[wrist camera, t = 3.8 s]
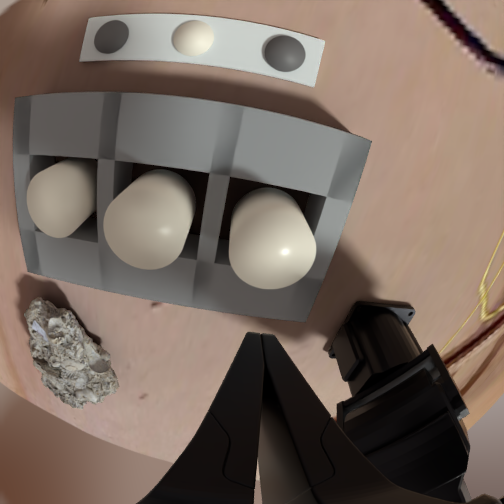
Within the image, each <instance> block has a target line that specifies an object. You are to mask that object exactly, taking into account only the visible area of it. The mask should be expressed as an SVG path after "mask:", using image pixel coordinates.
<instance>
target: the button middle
mask: <svg viewBox="0 0 504 504" xmlns="http://www.w3.org/2000/svg"><path fill="white" fill-rule="evenodd" d="M195 212H196V198H195V194H194V191H193V189H192V187H191V186H190V184H189V183H188V182H187V181H186V180H185V179H184V178H183V177H182V176H180V175H179V174H177V173H175V172H172V171H170V170H164V169H156V170H151V171H148V172H146V173H144V174H142V175H141V176H140V177H138V178H137V179H136V180H135V181H134V182H133V183H132V184H130V185H129V186H128V187H127V188H126V189H125V190H124V191H123V192H122V193H120V194H119V195H118V196H117V197H116V198H115V199H114V200H113V201H112V202H111V203H110V205H109V206H108V208H107V210H106V213H105V216H104V222H103V228H104V234H105V238H106V241H107V243H108V245H109V246H110V248H111V250H112V251H113V252H114V253H115V254H116V255H117V256H118V257H119V258H120V259H121V260H122V261H124V262H125V263H127V264H129V265H131V266H133V267H136V268H140V269H146V270H153V269H159V268H163V267H165V266H167V265H169V264H171V263H172V262H173V261H174V260H175V259H176V258H177V257H178V256H179V255H180V253H181V251H182V249H183V246H184V244H185V241H186V238H187V235H188V232H189V229H190V226H191V224H192V221H193V218H194V215H195Z"/></svg>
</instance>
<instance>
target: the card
mask: <svg viewBox="0 0 504 504" xmlns="http://www.w3.org/2000/svg"><path fill="white" fill-rule="evenodd" d="M324 44H325V41H324V40H321V39H317V38H314V37H311V36H307V35H304V34H300V33H296V32H293V31H289V30H285V29H280V28H276V27H272V26H267V25H262V24H257V23H251V22H246V21H240V20H233V19H226V18H218V17H209V16H198V15H183V14H126V15H112V16H101V17H92V18H89V20H88V24H87V28H86V32H85V36H84V41H83V45H82V50H81V55H80V60H79V62H89V61H112V60H139V61H164V62H178V63H189V64H198V65H207V66H214V67H221V68H228V69H234V70H240V71H245V72H251V73H256V74H261V75H265V76H270V77H274V78H279V79H283V80H287V81H291V82H295V83H298V84H302V85H306V86H309V87H314V86H315V82H316V77H317V73H318V69H319V65H320V61H321V57H322V53H323V49H324Z"/></svg>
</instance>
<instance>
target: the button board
mask: <svg viewBox="0 0 504 504" xmlns="http://www.w3.org/2000/svg"><path fill="white" fill-rule="evenodd" d="M371 143H372V141H370V140H368V139H365V138H363V137H360V136H358V135H355V134H352V133H349V132H346V131H343V130H340V129H337V128H334V127H330V126H327V125H324V124H320V123H317V122H313V121H309V120H306V119H302V118H298V117H294V116H290V115H286V114H282V113H277V112H273V111H269V110H264V109H259V108H254V107H249V106H244V105H239V104H233V103H227V102H221V101H215V100H208V99H201V98H193V97H184V96H175V95H165V94H152V93H136V92H64V93H49V94H38V95H31V96H24V97H17V98H15V106H14V122H13V170H14V186H15V198H16V207H17V215H18V222H19V229H20V235H21V241H22V247H23V252H24V257H25V261H26V266H27V270H28V272H31V273H34V274H38V275H42V276H45V277H49V278H53V279H57V280H61V281H65V282H69V283H73V284H77V285H82V286H86V287H90V288H95V289H99V290H104V291H108V292H113V293H118V294H122V295H127V296H132V297H137V298H142V299H148V300H153V301H158V302H164V303H169V304H175V305H181V306H187V307H193V308H199V309H205V310H211V311H218V312H225V313H232V314H239V315H246V316H254V317H262V318H270V319H278V320H287V321H296V322H306V320H307V318H308V316H309V313H310V311H311V309H312V306H313V304H314V302H315V299H316V297H317V295H318V292H319V290H320V287H321V285H322V282H323V280H324V277H325V275H326V272H327V270H328V267H329V265H330V262H331V260H332V257H333V255H334V252H335V249H336V247H337V244H338V241H339V239H340V236H341V233H342V231H343V228H344V225H345V222H346V220H347V217H348V214H349V211H350V208H351V205H352V202H353V199H354V197H355V194H356V191H357V188H358V185H359V181H360V178H361V175H362V172H363V169H364V166H365V163H366V159H367V156H368V153H369V149H370V146H371ZM55 156H67V157H81V158H93V159H98V169H97V219H95V218H89V217H88V218H87V219H86V220H85V221H84V222H83V223H82V224H81V225H80V226H79V227H78V228H77V229H76V230H75V231H74V232H73V233H72V234H70V235H69V236H67V237H64V238H54V237H51V236H49V235H47V234H45V233H44V232H42V231H41V230H40V229H39V228H38V227H37V226H36V224H35V223H34V222H33V220H32V218H31V216H30V214H29V211H28V207H27V189H28V186H29V184H30V182H31V180H32V178H33V177H34V176H35V175H36V174H38V173H39V172H41V171H43V170H45V169H47V168H49V167H51V166H53V165H55ZM133 162H134V163H142V164H150V165H158V166H166V167H173V168H180V169H187V170H193V171H200V172H206V173H210V175H209V181H208V187H207V193H206V199H205V205H204V212H203V218H202V225H201V232H200V235H194V234H188V235H187V238H186V241H185V244H184V246H183V249H182V251H181V253H180V255H179V256H178V257H177V258H176V259H175V260H174V261H173V262H172V263H171V264H169V265H167V266H165V267H163V268H159V269H153V270H146V269H140V268H136V267H133V266H131V265H129V264H127V263H125V262H124V261H122V260H121V259H120V258H119V257H118V256H117V255H116V254H115V253H114V252H113V251H112V250H111V248H110V246H109V245H108V243H107V241H106V238H105V234H104V228H103V222H104V216H105V213H106V210H107V208H108V206H109V205H110V203H111V202H112V201H113V200H114V199H115V198H116V197H117V196H118V195H119V194H120V193H122V192H123V191H124V190H125V189H126V188H127V187H128V186H129V185H130V184H131V179H132V166H133ZM230 177H235V178H241V179H246V180H251V181H256V182H262V183H267V184H272V185H276V186H281V187H286V188H291V189H295V190H300V191H304V192H309V193H310V195H309V198H308V201H307V205H306V208H305V211H304V215H303V216H304V218H305V220H306V222H307V224H308V226H309V228H310V230H311V232H312V234H313V236H314V239H315V242H316V256H315V260H314V262H313V265H312V266H311V268H310V270H309V271H308V272H307V273H306V275H305V276H303V277H302V278H301V279H300V280H299V281H297V282H295V283H294V284H292V285H289V286H287V287H283V288H279V289H261V288H257V287H254V286H251V285H249V284H247V283H246V282H244V281H243V280H242V279H240V278H239V277H238V276H237V274H236V273H235V272H234V270H233V268H232V266H231V263H230V260H229V242H230V240H224V239H219V233H220V228H221V222H222V217H223V211H224V206H225V200H226V195H227V190H228V185H229V180H230Z"/></svg>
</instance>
